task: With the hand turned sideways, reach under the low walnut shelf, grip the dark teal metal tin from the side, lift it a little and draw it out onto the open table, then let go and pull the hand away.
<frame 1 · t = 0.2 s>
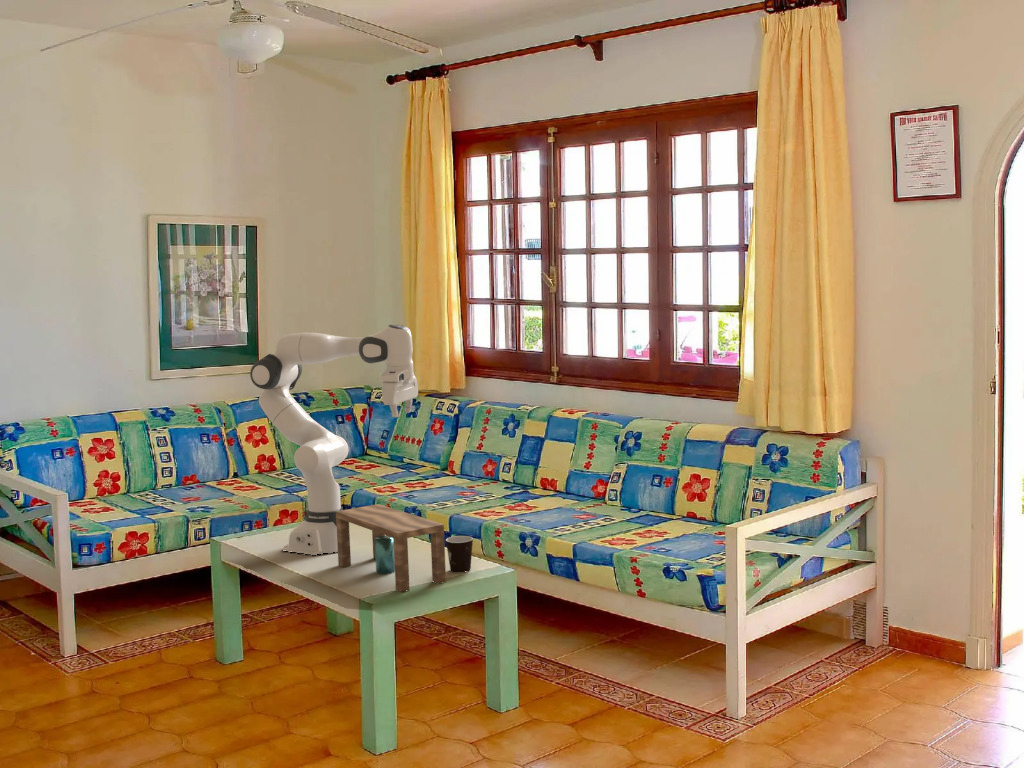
hand: (401, 414, 358), 48 cm above the table, tool pointing down, fingers open, 8 cm apart
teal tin: (385, 571, 342), on the table
low shelf: (390, 573, 340), on the table
coffee mug: (460, 571, 340), on the table
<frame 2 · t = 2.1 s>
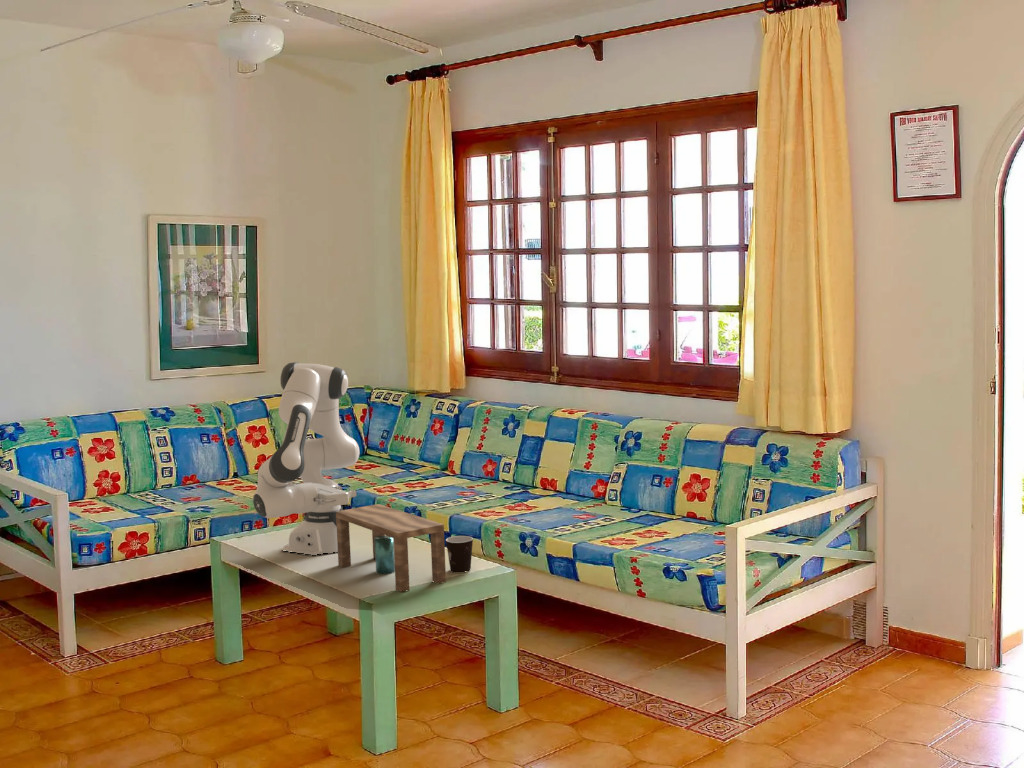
hand: (348, 491, 332), 28 cm above the table, tool horizontal, fingers open, 8 cm apart
nothing on the table moved.
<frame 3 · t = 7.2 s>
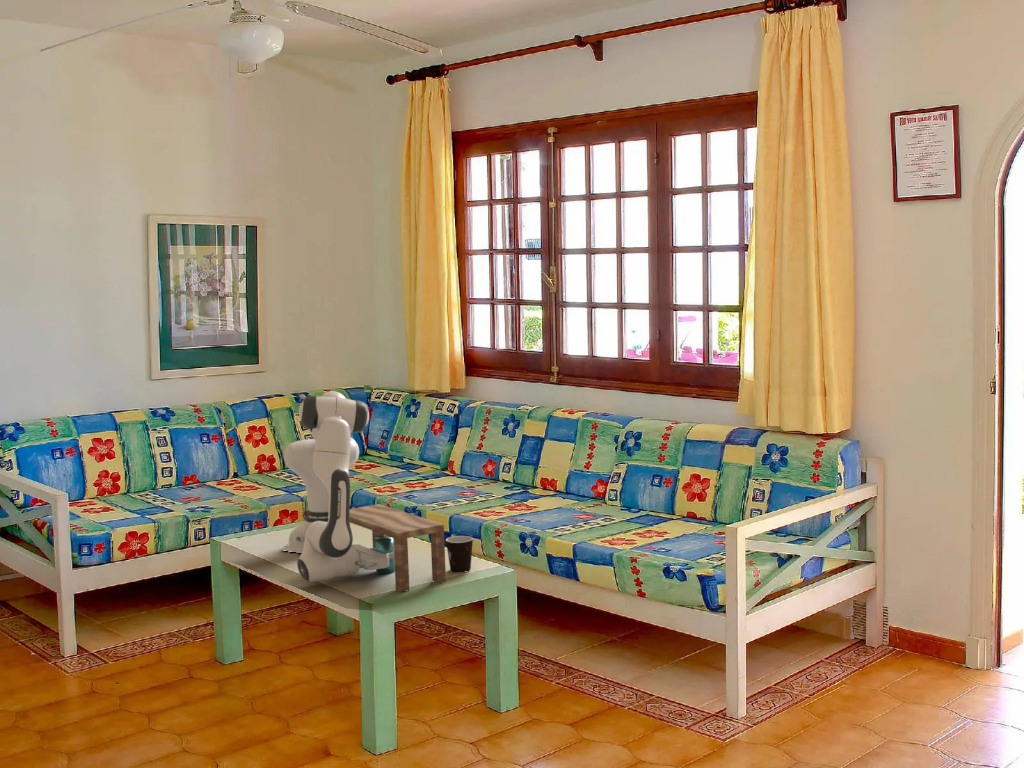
hand: (387, 552, 342), 6 cm above the table, tool horizontal, fingers closed on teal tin, 6 cm apart
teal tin: (385, 571, 343), on the table, touching gripper
everything else where it was.
when the fingers open (7 cm above the table, at t = 12.2 s): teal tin drops 1 cm, on the table.
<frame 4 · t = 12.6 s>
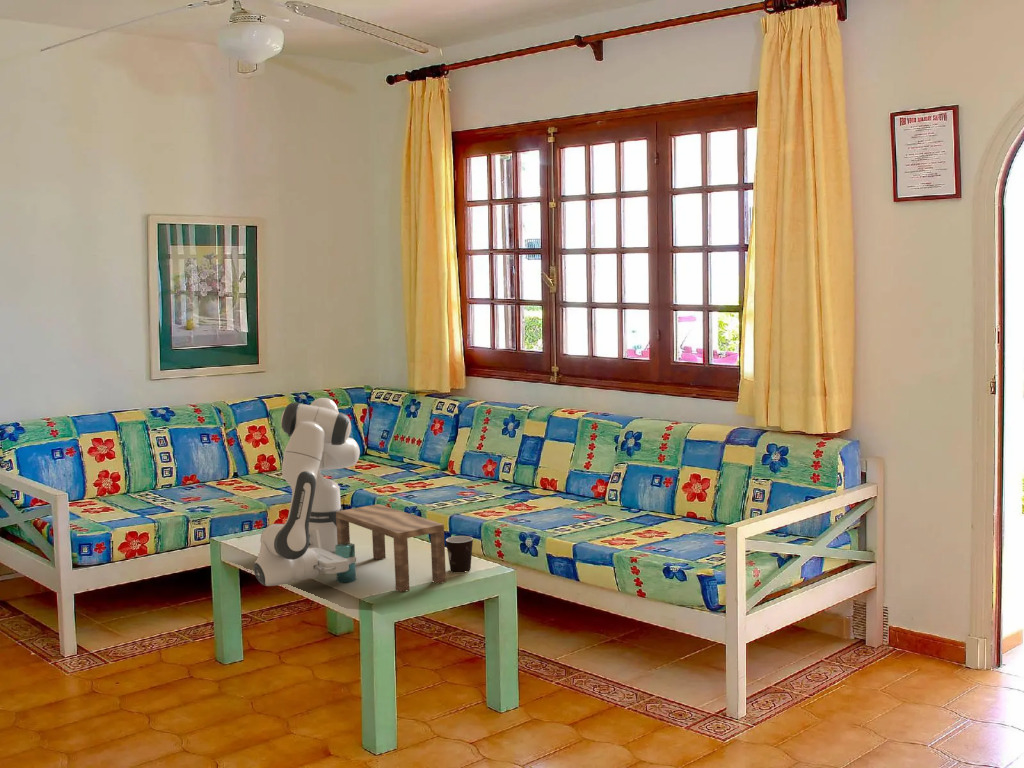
hand: (348, 556, 334), 7 cm above the table, tool horizontal, fingers open, 8 cm apart
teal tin: (346, 580, 334), on the table
everything else where it was.
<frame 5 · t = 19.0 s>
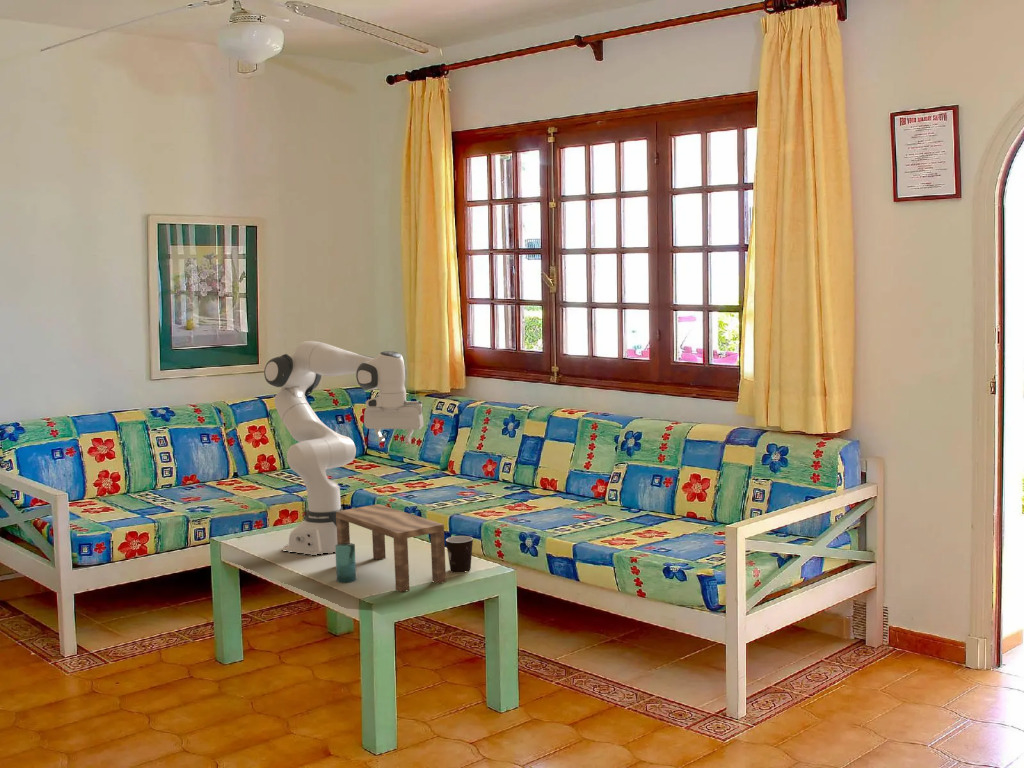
hand: (394, 442, 355), 39 cm above the table, tool pointing down, fingers open, 8 cm apart
nothing on the table moved.
at the end: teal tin inside the target area (0.0 cm from its centre), on the table; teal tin tilted 1°; the gripper is holding nothing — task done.
